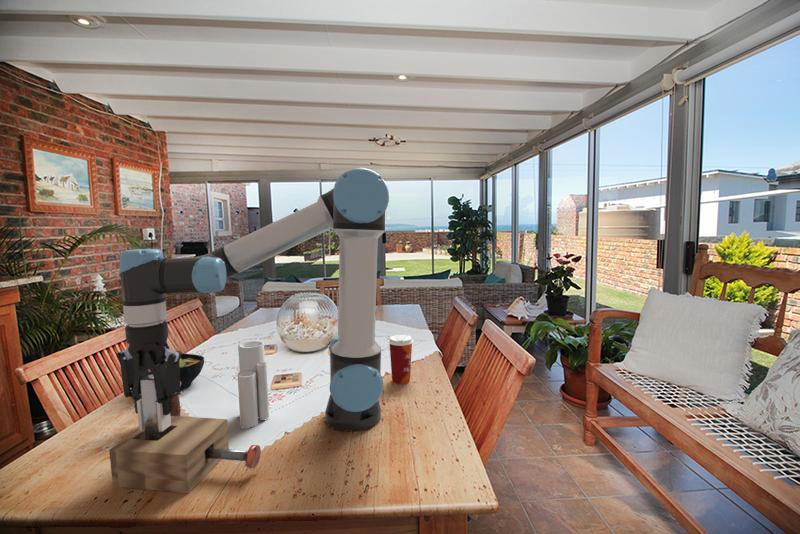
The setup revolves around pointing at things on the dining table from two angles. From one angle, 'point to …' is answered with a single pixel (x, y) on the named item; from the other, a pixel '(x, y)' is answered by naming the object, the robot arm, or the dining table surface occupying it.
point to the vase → (252, 383)
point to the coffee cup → (400, 358)
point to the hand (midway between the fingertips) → (155, 427)
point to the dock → (169, 455)
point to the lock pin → (236, 455)
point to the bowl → (188, 369)
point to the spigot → (150, 408)
